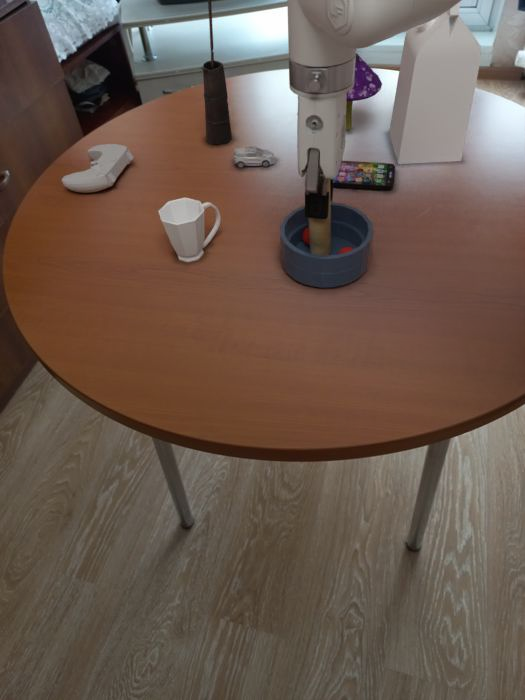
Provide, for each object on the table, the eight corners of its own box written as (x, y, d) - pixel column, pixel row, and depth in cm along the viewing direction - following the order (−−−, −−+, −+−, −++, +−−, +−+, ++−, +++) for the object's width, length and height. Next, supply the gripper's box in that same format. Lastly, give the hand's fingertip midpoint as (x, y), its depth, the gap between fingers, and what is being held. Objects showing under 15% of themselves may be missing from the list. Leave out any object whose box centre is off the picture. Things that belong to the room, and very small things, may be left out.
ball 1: (322, 238, 82) (319, 221, 80) (323, 247, 80) (320, 230, 78) (303, 242, 82) (300, 225, 81) (304, 251, 80) (301, 233, 78)
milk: (461, 161, 95) (501, -4, 76) (398, 164, 96) (421, 2, 76) (447, 129, 103) (480, -27, 83) (389, 132, 104) (408, -22, 84)
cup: (160, 253, 83) (148, 210, 77) (209, 226, 87) (202, 183, 81) (185, 274, 79) (174, 230, 73) (235, 245, 83) (229, 201, 77)
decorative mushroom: (376, 115, 109) (384, 36, 98) (378, 145, 101) (387, 63, 89) (316, 116, 110) (318, 38, 99) (314, 145, 102) (315, 64, 91)
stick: (327, 242, 80) (325, 164, 70) (334, 254, 78) (333, 176, 68) (307, 247, 79) (303, 170, 70) (313, 259, 77) (310, 181, 68)
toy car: (275, 167, 98) (274, 152, 96) (233, 168, 98) (231, 154, 96) (275, 157, 100) (275, 142, 98) (234, 158, 101) (233, 144, 99)
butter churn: (211, 158, 101) (186, -9, 80) (185, 141, 107) (155, -20, 85) (248, 142, 105) (234, -23, 84) (221, 126, 110) (201, -33, 89)
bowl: (348, 226, 84) (350, 194, 80) (384, 277, 76) (389, 244, 71) (270, 245, 83) (268, 213, 78) (298, 299, 74) (297, 267, 70)
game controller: (89, 140, 103) (131, 133, 99) (100, 161, 106) (141, 154, 102) (53, 179, 94) (98, 173, 90) (66, 200, 97) (110, 195, 93)
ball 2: (353, 270, 78) (363, 252, 77) (348, 272, 75) (358, 254, 74) (336, 260, 79) (346, 242, 77) (331, 261, 76) (341, 243, 75)
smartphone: (393, 187, 89) (307, 181, 92) (392, 191, 90) (307, 186, 93) (395, 163, 94) (314, 158, 97) (395, 168, 95) (314, 163, 98)
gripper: (344, 105, 53) (336, 247, 67) (362, 45, 63) (352, 179, 77) (274, 102, 55) (280, 242, 69) (302, 44, 65) (303, 176, 79)
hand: (318, 208), depth 73 cm, fingers closed on stick, 3 cm apart
